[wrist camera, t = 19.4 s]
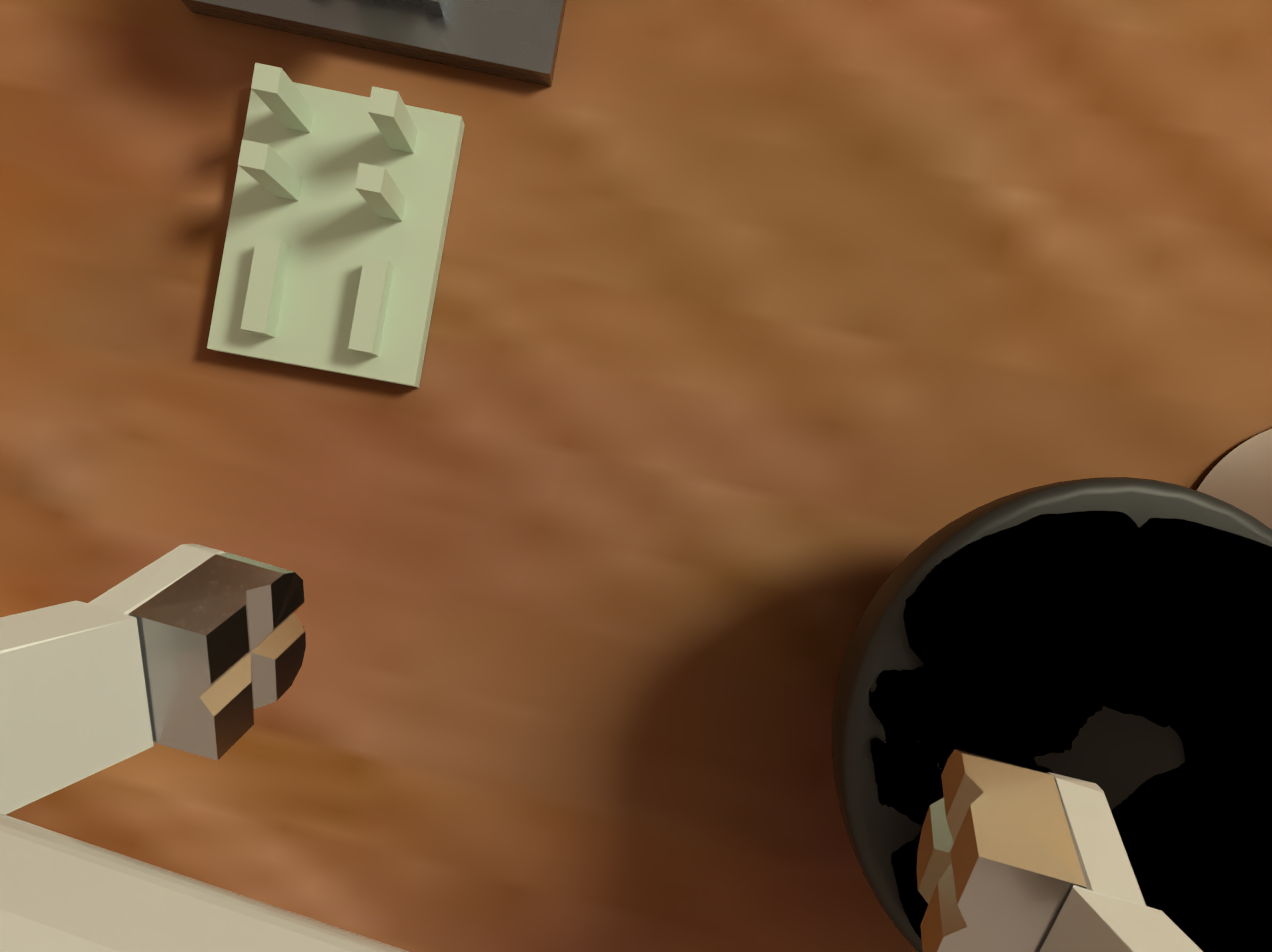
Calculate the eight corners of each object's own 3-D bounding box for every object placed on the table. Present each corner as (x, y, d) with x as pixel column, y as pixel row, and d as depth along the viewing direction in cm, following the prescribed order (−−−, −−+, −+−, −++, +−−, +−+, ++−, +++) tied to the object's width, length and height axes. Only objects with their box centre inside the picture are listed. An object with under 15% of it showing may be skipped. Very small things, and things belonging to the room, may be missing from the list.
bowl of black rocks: (708, 791, 40) (822, 1092, 21) (885, 402, 40) (1158, 354, 21) (1080, 953, 41) (1502, 1372, 22) (1251, 576, 41) (1814, 678, 22)
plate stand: (464, 125, 38) (446, 75, 33) (418, 387, 38) (394, 377, 33) (262, 84, 38) (213, 27, 33) (216, 351, 38) (160, 335, 33)
